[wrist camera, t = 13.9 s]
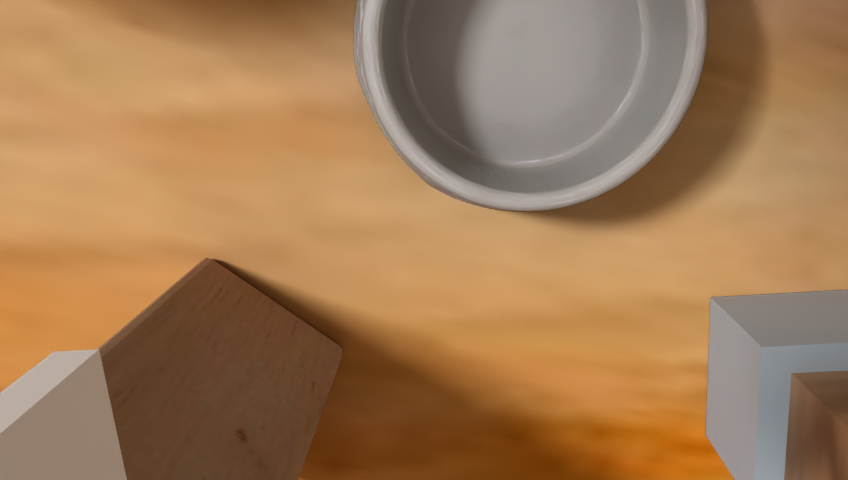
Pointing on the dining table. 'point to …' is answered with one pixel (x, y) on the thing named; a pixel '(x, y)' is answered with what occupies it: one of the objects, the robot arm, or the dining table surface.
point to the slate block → (766, 371)
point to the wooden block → (217, 383)
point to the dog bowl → (528, 91)
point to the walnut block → (817, 427)
